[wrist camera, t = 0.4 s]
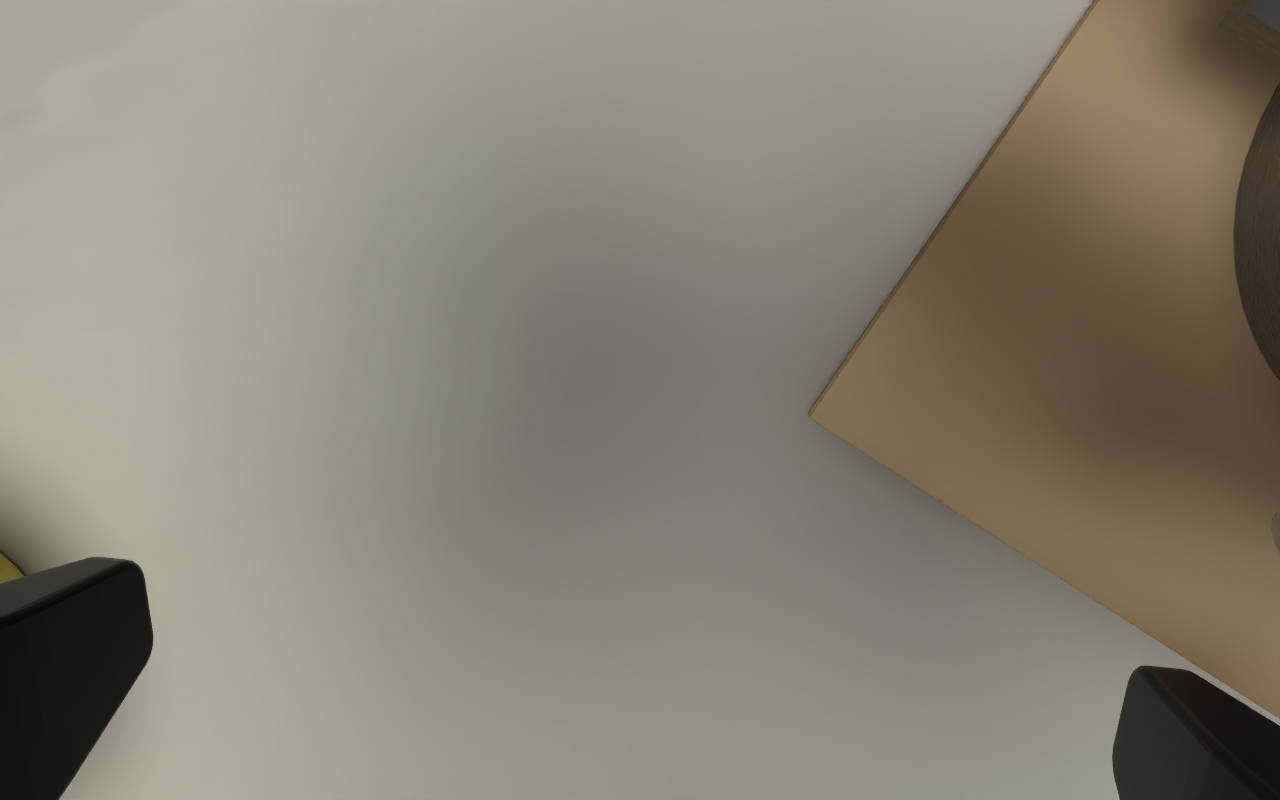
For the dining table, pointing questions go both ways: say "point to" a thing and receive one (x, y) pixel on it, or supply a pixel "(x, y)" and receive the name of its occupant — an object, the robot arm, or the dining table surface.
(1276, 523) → the lid
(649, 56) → the dining table surface
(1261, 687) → the board
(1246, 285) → the cooker
